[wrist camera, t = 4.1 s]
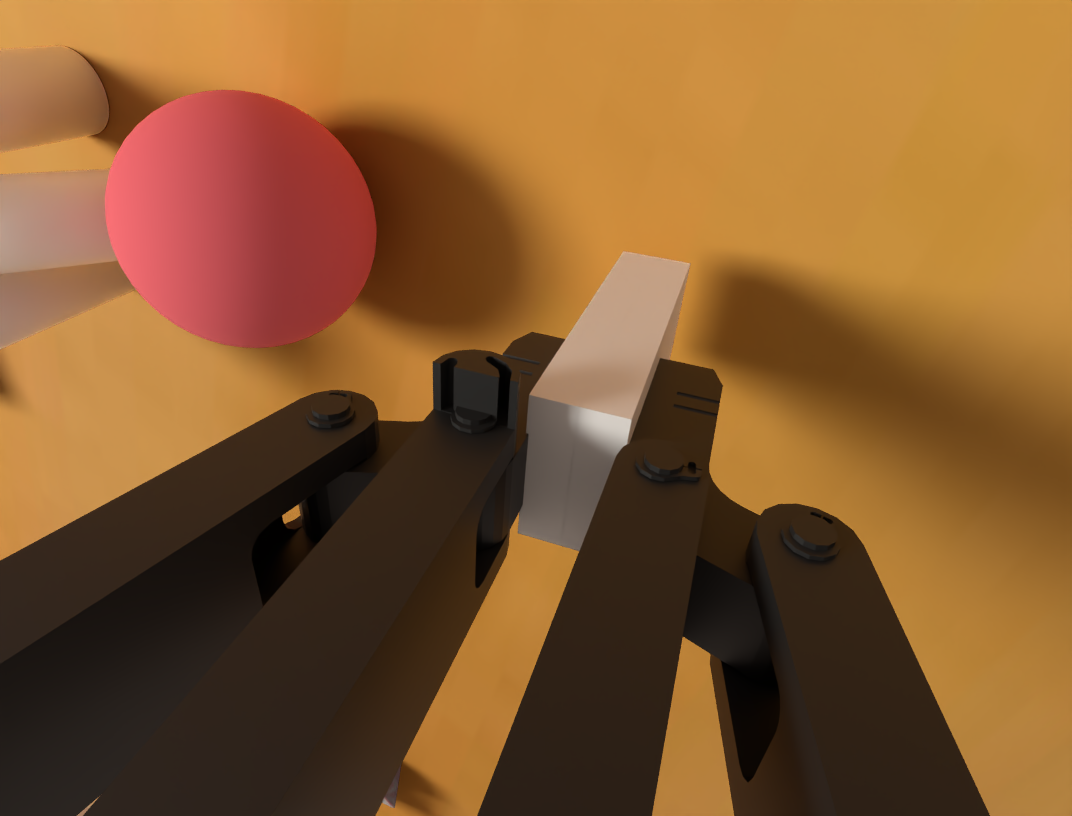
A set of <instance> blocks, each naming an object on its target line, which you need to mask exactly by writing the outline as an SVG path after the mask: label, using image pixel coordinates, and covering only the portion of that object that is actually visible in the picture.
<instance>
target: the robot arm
mask: <svg viewBox="0 0 1072 816" xmlns="http://www.w3.org/2000/svg"><path fill="white" fill-rule="evenodd" d="M689 268H690V263H686V262H680V261H675V260H669V259H664V258H658V257H653V256H647V255H642V254H636V253H631V252H625V251H623V253H622V254H621V256H620V257H619V259H618V260H617V262H616V263H615V265H614V266H613V268H612V270H611V271H610V273H609V274H608V276H607V277H606V279H605V280H604V282H603V283H602V285H601V286H600V288H599V289H598V291H597V292H596V294H595V295H594V297H593V298H592V300H591V301H590V303H589V304H588V306H587V307H586V309H585V311H584V312H583V314H582V315H581V317H580V318H579V320H578V321H577V323H576V324H575V326H574V327H573V329H572V330H571V332H570V333H569V335H568V336H567V338H566V339H562V338H557V337H553V336H548V335H543V334H539V333H534V332H531V333H529V334H527V335H525V336H523V337H521V338H518V339H516V340H514V341H513V342H512V343H511V344H510V346H509V347H508V348H507V349H506V351H505V352H504V353H503V355H500V354H497V353H494V352H490V351H482V350H462V351H456V352H452V353H449V354H445V355H443V356H441V357H440V358H438V359H437V360H435V361H433V406H434V409H433V410H432V411H431V413H430V414H429V415H428V416H427V417H426V418H425V420H424V421H419V422H402V421H379V420H378V411H377V409H376V406H375V404H374V402H373V401H372V400H370V399H369V398H367V397H366V396H365V395H362V394H359V393H355V392H352V391H343V390H341V391H340V390H330V391H324V392H318V393H314V394H311V395H309V396H306V397H304V398H301V399H299V400H297V401H295V402H294V403H292V404H290V405H288V406H286V407H284V408H282V409H281V410H279V411H277V412H275V413H273V414H271V415H269V416H268V417H266V418H264V419H262V420H260V421H258V422H256V423H255V424H253V425H251V426H249V427H247V428H245V429H244V430H242V431H240V432H238V433H236V434H234V435H232V436H231V437H229V438H227V439H225V440H223V441H221V442H219V443H218V444H216V445H214V446H212V447H210V448H208V449H206V450H205V451H203V452H201V453H199V454H197V455H195V456H193V457H192V458H190V459H188V460H186V461H184V462H182V463H181V464H179V465H177V466H175V467H173V468H171V469H169V470H168V471H166V472H164V473H162V474H160V475H158V476H156V477H155V478H153V479H151V480H149V481H147V482H145V483H143V484H142V485H140V486H138V487H136V488H134V489H132V490H130V491H129V492H127V493H125V494H123V495H121V496H119V497H118V498H116V499H114V500H112V501H110V502H108V503H106V504H105V505H103V506H101V507H99V508H97V509H95V510H93V511H92V512H90V513H88V514H86V515H84V516H82V517H80V518H79V519H77V520H75V521H73V522H71V523H69V524H67V525H66V526H64V527H62V528H60V529H58V530H56V531H55V532H53V533H51V534H49V535H47V536H45V537H43V538H42V539H40V540H38V541H36V542H34V543H32V544H30V545H29V546H27V547H25V548H23V549H21V550H19V551H17V552H16V553H14V554H12V555H10V556H8V557H6V558H4V559H3V560H1V561H0V816H77V815H78V814H79V813H80V812H81V811H82V810H84V809H85V808H86V807H87V806H88V805H89V804H91V803H92V802H93V801H94V800H95V799H96V798H98V797H99V796H100V797H99V798H98V799H97V800H96V801H95V802H94V804H93V805H92V806H91V807H90V808H89V809H88V811H87V812H86V813H85V814H84V815H83V816H375V815H376V813H377V811H378V809H379V807H380V805H381V803H382V801H383V799H384V797H385V795H386V793H387V791H388V789H389V787H390V785H391V783H392V781H393V779H394V777H395V775H396V773H397V771H398V769H399V767H400V765H401V764H402V762H403V760H404V758H405V756H406V754H407V752H408V750H409V748H410V746H411V744H412V742H413V740H414V738H415V736H416V734H417V732H418V730H419V728H420V726H421V724H422V722H423V720H424V718H425V716H426V714H427V712H428V710H429V708H430V706H431V704H432V702H433V700H434V698H435V696H436V694H437V692H438V690H439V688H440V686H441V684H442V682H443V680H444V678H445V676H446V674H447V672H448V670H449V668H450V666H451V664H452V662H453V660H454V658H455V657H456V655H457V653H458V651H459V649H460V647H461V645H462V643H463V641H464V639H465V637H466V635H467V633H468V631H469V629H470V627H471V625H472V623H473V621H474V619H475V617H476V615H477V613H478V611H479V609H480V607H481V605H482V603H483V601H484V599H485V597H486V595H487V593H488V591H489V589H490V587H491V585H492V583H493V581H494V579H495V577H496V575H497V573H498V571H499V569H500V567H501V565H502V563H503V561H504V559H505V557H506V555H507V551H508V546H509V534H510V528H511V526H512V524H513V522H514V521H515V519H516V517H517V515H518V513H519V525H518V533H520V534H523V535H526V536H530V537H533V538H537V539H540V540H543V541H547V542H550V543H554V544H557V545H561V546H564V547H567V548H571V549H574V550H578V551H579V553H578V556H577V559H576V561H575V564H574V566H573V569H572V572H571V574H570V577H569V579H568V582H567V585H566V587H565V590H564V592H563V595H562V598H561V600H560V603H559V605H558V608H557V611H556V613H555V616H554V618H553V621H552V623H551V626H550V629H549V631H548V634H547V636H546V639H545V642H544V644H543V647H542V649H541V652H540V655H539V657H538V660H537V662H536V665H535V668H534V670H533V673H532V675H531V678H530V681H529V683H528V686H527V688H526V691H525V694H524V696H523V699H522V701H521V704H520V706H519V709H518V712H517V714H516V717H515V719H514V722H513V725H512V727H511V730H510V732H509V735H508V738H507V740H506V743H505V745H504V748H503V751H502V753H501V756H500V758H499V761H498V764H497V766H496V769H495V771H494V774H493V776H492V779H491V782H490V784H489V787H488V789H487V792H486V795H485V797H484V800H483V802H482V805H481V808H480V810H479V813H478V815H477V816H652V811H653V805H654V800H655V794H656V788H657V782H658V776H659V771H660V765H661V759H662V753H663V747H664V742H665V736H666V730H667V724H668V718H669V712H670V707H671V701H672V695H673V689H674V683H675V678H676V672H677V666H678V660H679V654H680V649H681V643H682V637H685V638H686V639H688V640H690V641H691V642H693V643H694V644H696V645H698V646H699V647H701V648H702V649H704V650H705V651H707V652H709V653H710V654H711V656H710V666H711V673H712V679H713V685H714V691H715V697H716V704H717V710H718V716H719V722H720V729H721V735H722V741H723V747H724V754H725V760H726V766H727V772H728V779H729V785H730V791H731V797H732V804H733V810H734V816H990V815H989V813H988V810H987V808H986V806H985V804H984V802H983V800H982V798H981V795H980V793H979V791H978V789H977V787H976V785H975V783H974V780H973V778H972V776H971V774H970V772H969V770H968V768H967V765H966V763H965V761H964V759H963V757H962V755H961V753H960V750H959V748H958V746H957V744H956V742H955V740H954V738H953V735H952V733H951V731H950V729H949V727H948V725H947V723H946V720H945V718H944V716H943V714H942V712H941V710H940V708H939V705H938V703H937V701H936V699H935V697H934V695H933V693H932V690H931V688H930V686H929V684H928V682H927V680H926V678H925V675H924V673H923V671H922V669H921V667H920V665H919V663H918V660H917V658H916V656H915V654H914V652H913V650H912V648H911V645H910V643H909V641H908V639H907V637H906V635H905V633H904V630H903V628H902V626H901V624H900V622H899V620H898V618H897V615H896V613H895V611H894V609H893V607H892V605H891V603H890V600H889V598H888V596H887V594H886V592H885V590H884V588H883V585H882V583H881V581H880V579H879V577H878V575H877V573H876V570H875V568H874V566H873V564H872V562H871V560H870V558H869V555H868V553H867V551H866V549H865V547H864V545H863V544H862V542H861V541H860V539H859V538H858V537H857V535H856V534H855V532H854V531H853V530H852V529H851V528H849V527H848V526H847V525H845V524H844V523H843V522H842V521H840V520H839V519H838V518H836V517H834V516H832V515H830V514H828V513H826V512H824V511H822V510H819V509H817V508H813V507H809V506H805V505H800V504H778V505H775V506H773V507H770V508H768V509H765V510H764V511H763V513H762V514H761V515H758V514H756V513H754V512H752V511H750V510H748V509H746V508H744V507H742V506H740V505H739V504H737V503H735V502H734V501H732V500H730V499H729V498H728V497H727V496H726V495H725V494H723V493H722V492H721V491H720V490H719V489H718V487H717V486H716V485H715V483H714V482H713V480H712V478H711V475H710V473H709V462H710V456H711V450H712V444H713V439H714V433H715V427H716V421H717V415H718V410H719V403H720V398H721V393H722V387H723V385H722V384H721V382H720V380H719V378H718V377H717V375H716V373H715V371H714V370H713V369H708V368H704V367H699V366H695V365H690V364H685V363H681V362H676V361H672V360H670V356H671V351H672V347H673V342H674V337H675V333H676V328H677V323H678V319H679V314H680V309H681V305H682V300H683V295H684V291H685V286H686V282H687V277H688V272H689ZM298 504H299V509H300V514H301V515H300V516H299V517H298V518H296V519H295V520H293V521H291V522H288V523H286V524H284V522H283V518H282V515H283V514H285V513H286V512H288V511H289V510H291V509H292V508H294V507H295V506H296V505H298ZM519 511H520V512H519Z"/></svg>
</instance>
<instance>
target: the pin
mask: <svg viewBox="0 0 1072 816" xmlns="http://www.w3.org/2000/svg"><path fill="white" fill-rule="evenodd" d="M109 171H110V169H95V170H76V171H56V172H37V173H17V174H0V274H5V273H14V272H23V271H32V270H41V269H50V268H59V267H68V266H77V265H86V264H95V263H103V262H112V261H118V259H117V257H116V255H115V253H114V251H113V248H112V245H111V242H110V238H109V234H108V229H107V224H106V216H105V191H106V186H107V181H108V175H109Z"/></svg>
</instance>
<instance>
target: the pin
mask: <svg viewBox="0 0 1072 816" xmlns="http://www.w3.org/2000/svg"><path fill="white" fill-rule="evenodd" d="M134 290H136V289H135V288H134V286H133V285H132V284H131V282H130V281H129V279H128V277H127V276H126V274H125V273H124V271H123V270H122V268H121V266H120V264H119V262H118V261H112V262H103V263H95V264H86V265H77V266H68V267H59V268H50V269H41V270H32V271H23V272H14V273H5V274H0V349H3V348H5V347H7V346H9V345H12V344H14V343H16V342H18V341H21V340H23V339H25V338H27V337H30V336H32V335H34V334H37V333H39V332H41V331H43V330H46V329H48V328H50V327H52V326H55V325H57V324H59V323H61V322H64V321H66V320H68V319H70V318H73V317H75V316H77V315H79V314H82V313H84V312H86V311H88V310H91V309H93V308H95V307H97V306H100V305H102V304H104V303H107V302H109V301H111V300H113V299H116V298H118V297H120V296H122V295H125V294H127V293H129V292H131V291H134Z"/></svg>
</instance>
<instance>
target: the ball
mask: <svg viewBox="0 0 1072 816" xmlns="http://www.w3.org/2000/svg"><path fill="white" fill-rule="evenodd" d="M105 216H106V224H107V229H108V234H109V238H110V242H111V245H112V248H113V251H114V253H115V255H116V257H117V259H118V262H119V264H120V266H121V268H122V270H123V271H124V273H125V274H126V276H127V277H128V279H129V281H130V282H131V284H132V285H133V286H134V288H135V289H136V290H137V291H138V292H139V293H140V295H141V296H142V297H143V298H144V299H145V300H146V301H147V302H148V303H149V304H150V305H151V306H152V307H153V308H154V309H155V310H157V311H158V312H159V313H160V314H161V315H163V316H164V317H165V318H167V319H168V320H170V321H171V322H172V323H174V324H175V325H177V326H179V327H181V328H183V329H184V330H186V331H188V332H190V333H192V334H195V335H197V336H199V337H202V338H204V339H207V340H210V341H214V342H217V343H221V344H225V345H231V346H237V347H249V348H264V347H275V346H281V345H285V344H290V343H294V342H297V341H299V340H302V339H305V338H308V337H310V336H312V335H314V334H316V333H318V332H320V331H322V330H323V329H325V328H326V327H328V326H329V325H330V324H332V323H333V322H335V321H336V320H337V319H338V318H339V317H340V316H341V315H342V314H344V313H345V312H346V311H347V309H348V308H349V307H350V306H351V305H352V303H353V302H354V301H355V300H356V298H357V296H358V295H359V293H360V292H361V290H362V288H363V287H364V285H365V283H366V280H367V278H368V276H369V273H370V271H371V267H372V263H373V259H374V256H375V248H376V236H377V230H376V219H375V212H374V206H373V202H372V199H371V196H370V193H369V189H368V186H367V184H366V182H365V180H364V178H363V176H362V173H361V171H360V169H359V168H358V166H357V165H356V163H355V161H354V160H353V158H352V157H351V155H350V154H349V153H348V152H347V150H346V149H345V148H344V147H343V145H342V144H341V143H340V142H339V140H338V139H337V138H335V137H334V136H333V135H332V134H331V133H330V132H329V131H328V130H327V129H326V128H325V127H324V126H322V125H321V124H320V123H319V122H317V121H316V120H315V119H313V118H312V117H311V116H309V115H307V114H306V113H304V112H302V111H301V110H299V109H297V108H296V107H294V106H291V105H289V104H287V103H285V102H282V101H280V100H278V99H275V98H271V97H268V96H265V95H261V94H257V93H251V92H245V91H236V90H216V91H205V92H200V93H195V94H191V95H187V96H184V97H181V98H179V99H176V100H174V101H171V102H169V103H167V104H165V105H164V106H162V107H160V108H158V109H157V110H155V111H153V112H152V113H151V114H150V115H148V116H147V117H146V118H145V119H144V120H142V121H141V122H140V123H139V124H138V125H137V126H136V127H135V128H134V129H133V130H132V132H131V133H130V134H129V135H128V136H127V137H126V139H125V140H124V142H123V144H122V145H121V147H120V149H119V150H118V152H117V154H116V156H115V158H114V161H113V164H112V166H111V169H110V171H109V175H108V181H107V186H106V191H105Z"/></svg>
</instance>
